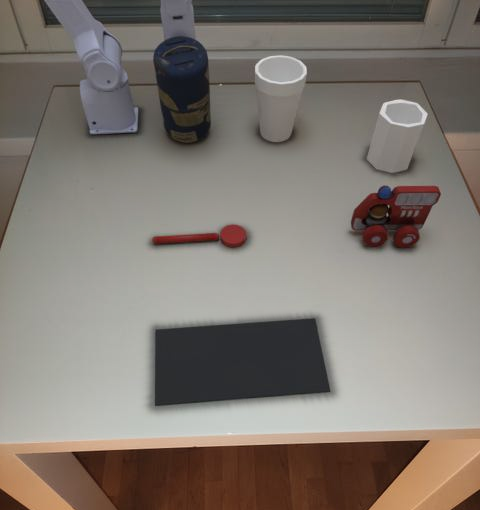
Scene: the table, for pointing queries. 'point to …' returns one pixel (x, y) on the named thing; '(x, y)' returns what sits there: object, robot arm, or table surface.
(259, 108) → the foam cup
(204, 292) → the table surface
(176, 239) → the spoon
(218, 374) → the placemat
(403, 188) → the toy fire truck
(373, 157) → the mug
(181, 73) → the canister
